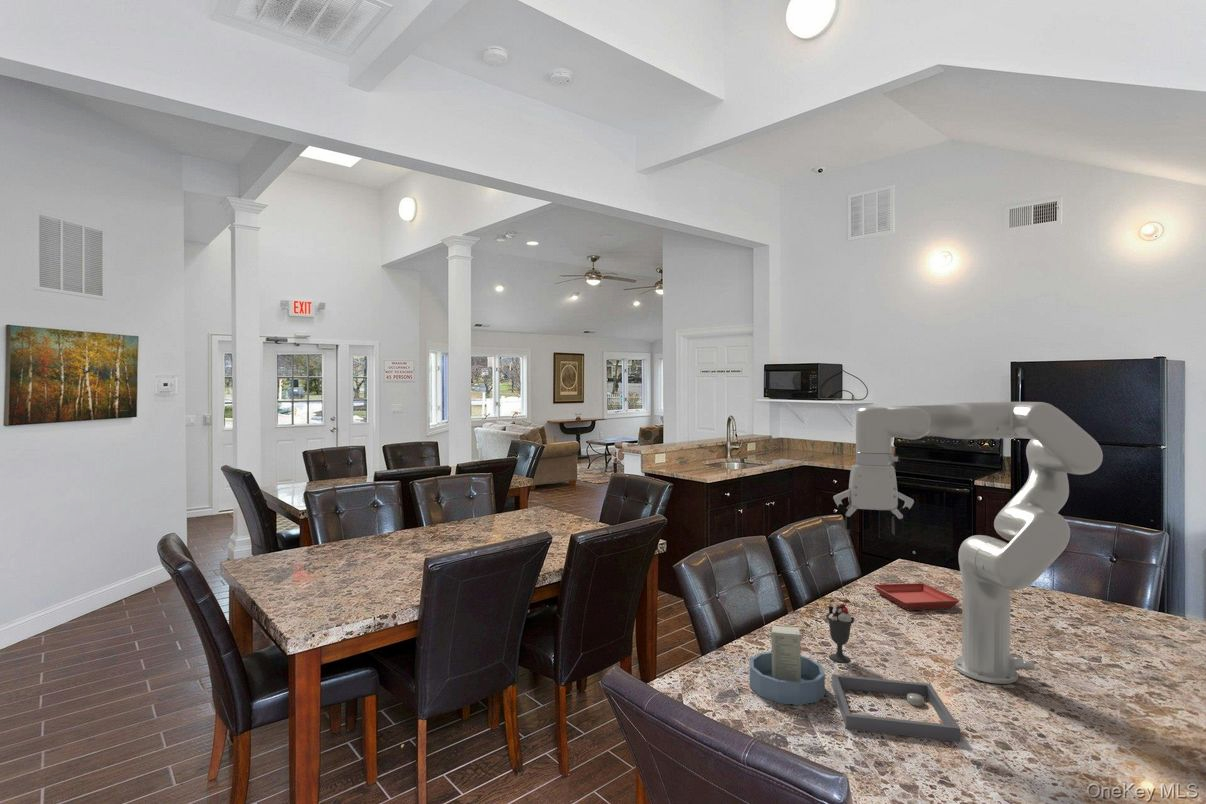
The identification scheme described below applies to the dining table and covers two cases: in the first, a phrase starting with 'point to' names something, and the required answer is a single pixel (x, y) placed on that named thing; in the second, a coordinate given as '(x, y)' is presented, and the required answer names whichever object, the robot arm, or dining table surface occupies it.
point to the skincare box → (786, 653)
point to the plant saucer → (916, 596)
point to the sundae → (839, 630)
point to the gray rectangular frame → (890, 725)
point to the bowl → (787, 690)
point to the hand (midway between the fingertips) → (872, 533)
